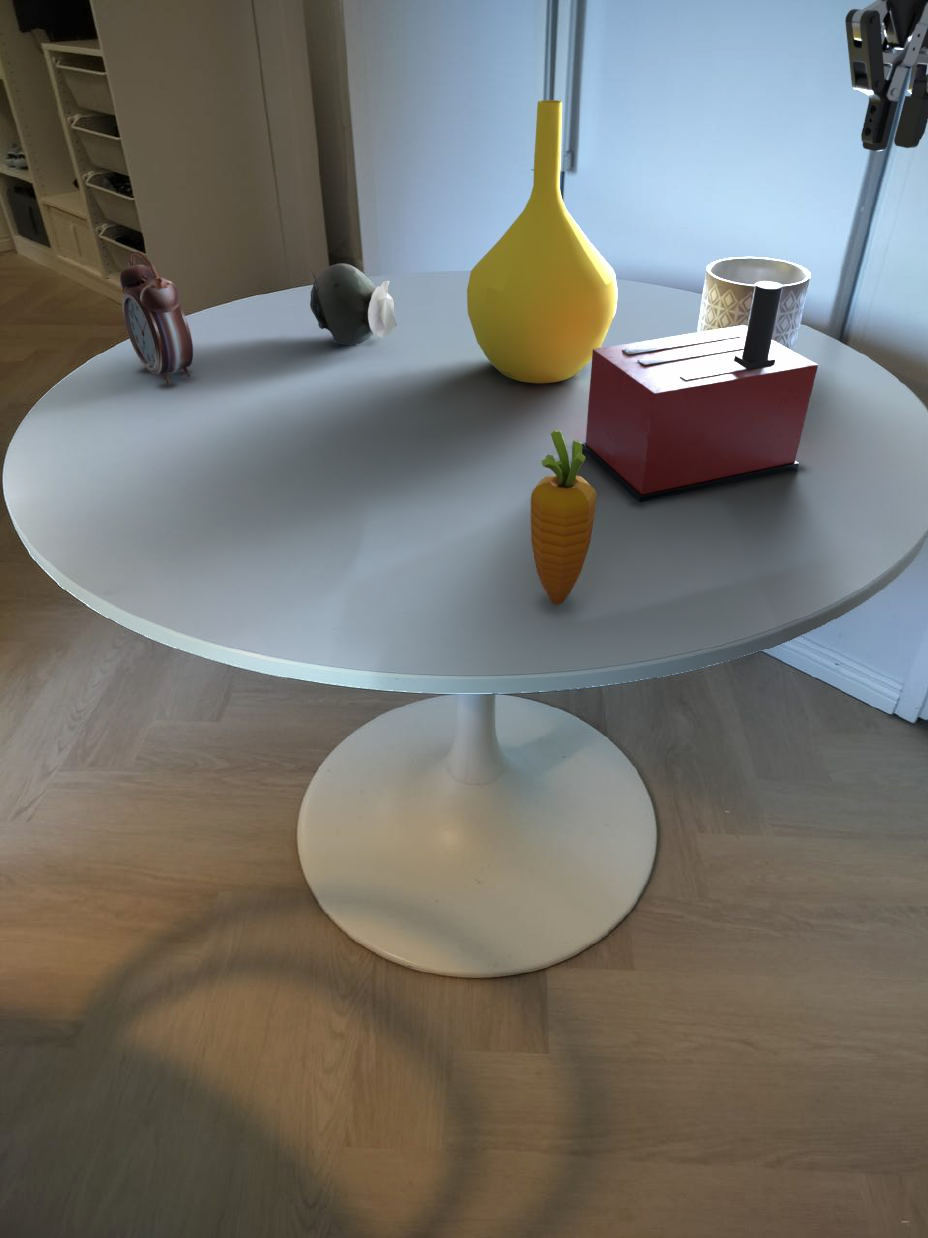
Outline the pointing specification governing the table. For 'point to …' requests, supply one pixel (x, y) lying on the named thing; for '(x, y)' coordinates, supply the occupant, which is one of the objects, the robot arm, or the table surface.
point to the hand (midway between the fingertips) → (889, 146)
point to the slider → (761, 326)
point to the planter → (734, 292)
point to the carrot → (561, 521)
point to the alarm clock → (155, 319)
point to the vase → (542, 280)
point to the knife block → (694, 412)
